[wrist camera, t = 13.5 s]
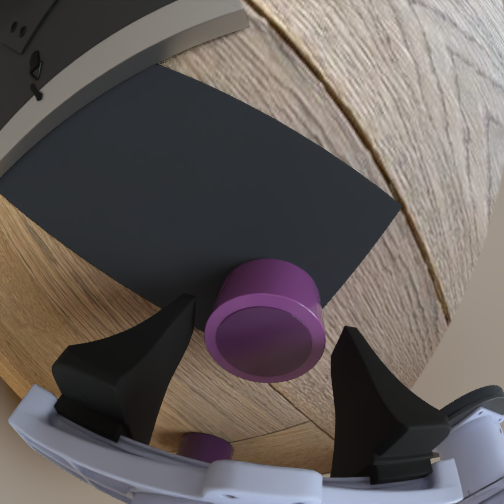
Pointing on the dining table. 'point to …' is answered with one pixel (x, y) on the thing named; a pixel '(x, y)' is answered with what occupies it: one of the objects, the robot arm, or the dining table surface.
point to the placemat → (194, 192)
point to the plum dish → (266, 322)
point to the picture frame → (88, 54)
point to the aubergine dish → (204, 447)
